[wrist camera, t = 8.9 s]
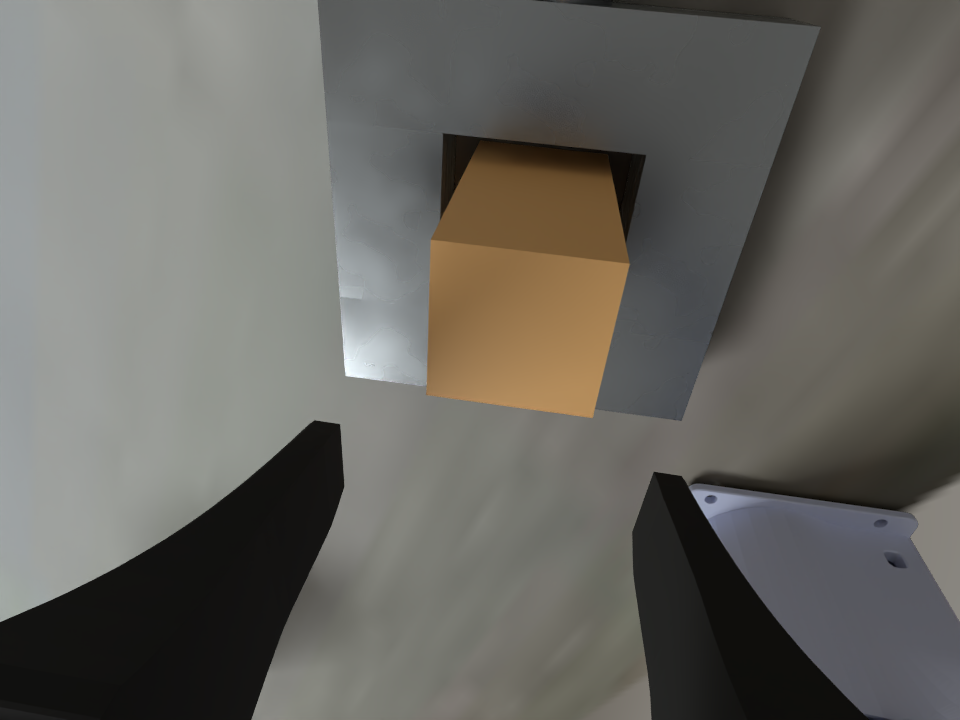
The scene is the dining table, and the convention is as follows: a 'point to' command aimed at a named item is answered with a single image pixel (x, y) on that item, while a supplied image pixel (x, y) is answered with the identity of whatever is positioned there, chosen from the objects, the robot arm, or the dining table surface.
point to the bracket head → (564, 122)
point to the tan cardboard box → (526, 280)
